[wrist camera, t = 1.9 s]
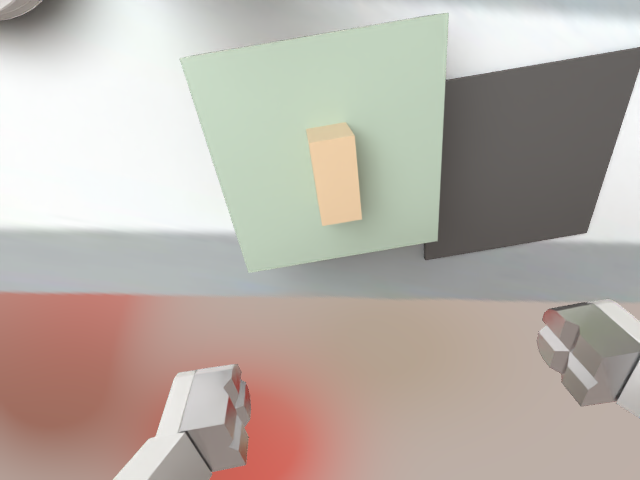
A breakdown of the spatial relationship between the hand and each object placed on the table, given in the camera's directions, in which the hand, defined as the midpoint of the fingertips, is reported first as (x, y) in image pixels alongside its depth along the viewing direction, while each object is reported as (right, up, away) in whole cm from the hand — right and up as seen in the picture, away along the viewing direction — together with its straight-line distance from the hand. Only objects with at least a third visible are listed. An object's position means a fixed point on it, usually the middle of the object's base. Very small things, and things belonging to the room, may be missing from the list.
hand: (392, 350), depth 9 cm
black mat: (+16, +10, +22) cm, 29 cm away
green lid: (-1, +9, +14) cm, 17 cm away
